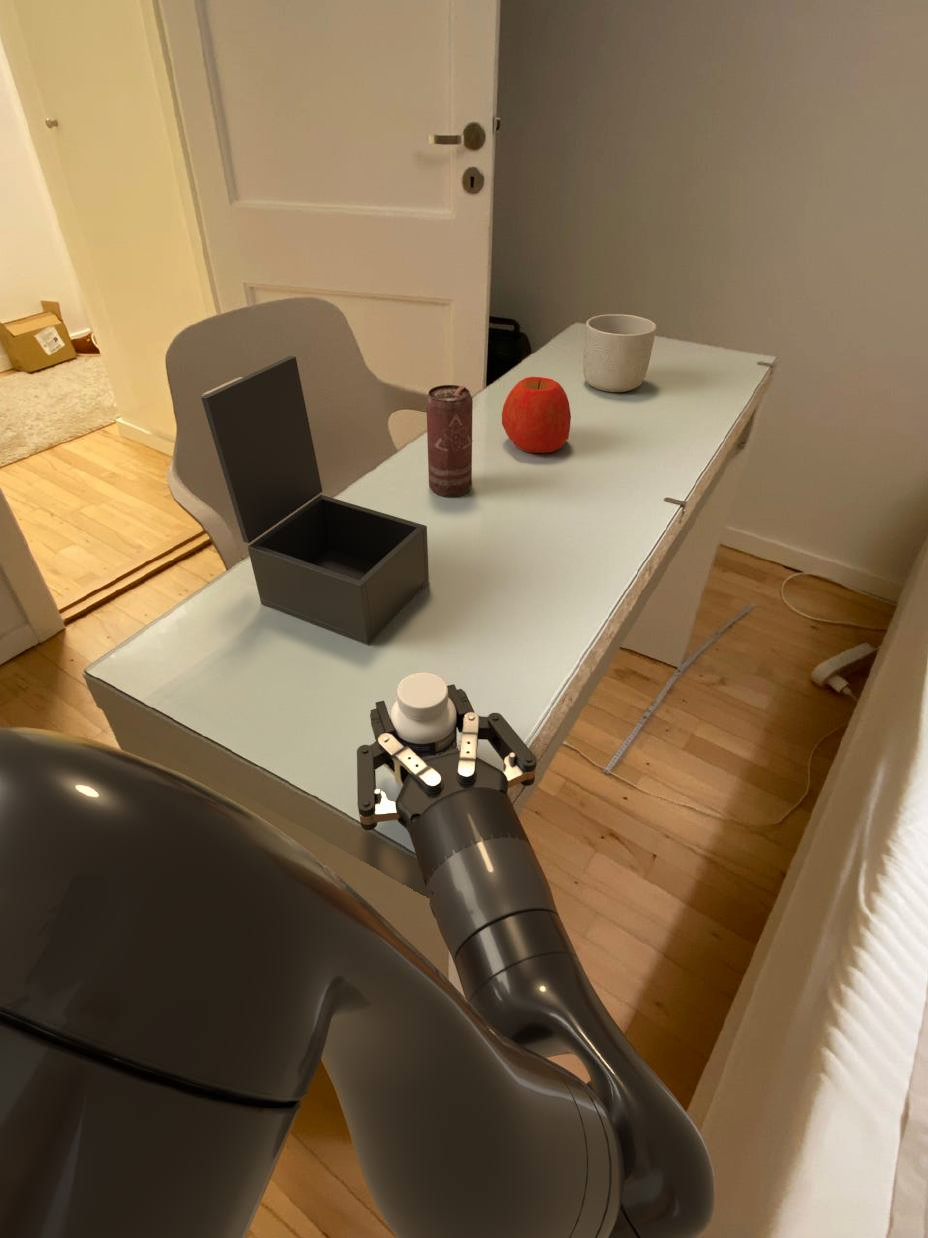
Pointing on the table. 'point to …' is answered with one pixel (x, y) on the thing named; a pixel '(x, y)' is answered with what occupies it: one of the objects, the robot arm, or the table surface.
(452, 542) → the table surface
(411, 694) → the pill bottle
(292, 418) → the upright box lid
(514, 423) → the apple
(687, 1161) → the robot arm
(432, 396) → the can
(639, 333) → the planter
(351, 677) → the table surface
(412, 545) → the hinged lid box
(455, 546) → the table surface
